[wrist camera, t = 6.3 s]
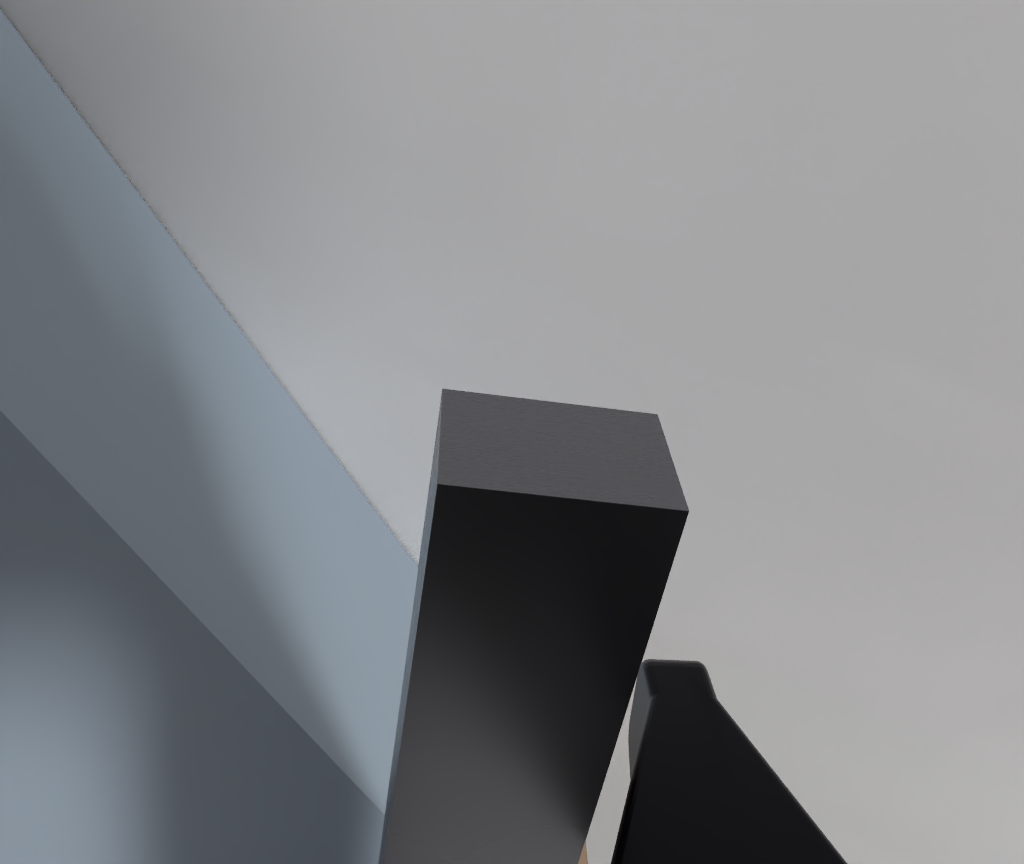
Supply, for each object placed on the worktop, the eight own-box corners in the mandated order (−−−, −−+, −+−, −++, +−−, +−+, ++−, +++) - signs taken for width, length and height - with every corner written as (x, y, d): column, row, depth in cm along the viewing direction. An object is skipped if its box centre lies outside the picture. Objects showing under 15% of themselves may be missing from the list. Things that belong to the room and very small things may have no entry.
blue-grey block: (244, 738, 18) (116, 1239, 12) (-380, 119, 12) (-1429, 453, 5) (476, 644, 17) (479, 1137, 10) (-76, -93, 11) (-924, -3, 4)
